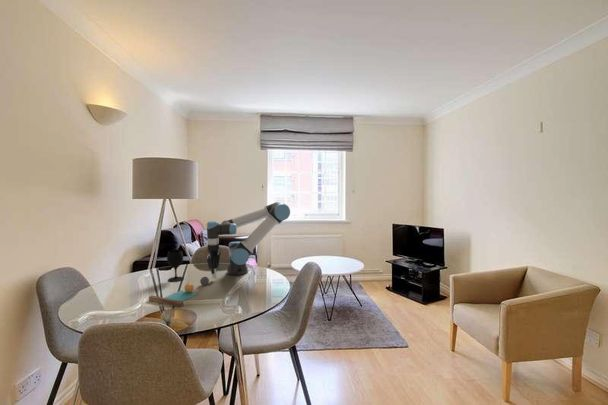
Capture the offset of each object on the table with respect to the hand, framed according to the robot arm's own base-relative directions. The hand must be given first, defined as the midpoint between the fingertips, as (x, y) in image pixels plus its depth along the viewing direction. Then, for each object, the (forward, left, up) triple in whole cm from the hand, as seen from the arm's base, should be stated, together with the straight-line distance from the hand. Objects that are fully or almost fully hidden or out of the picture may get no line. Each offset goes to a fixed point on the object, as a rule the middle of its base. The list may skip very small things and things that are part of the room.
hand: (214, 277), depth 214 cm
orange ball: (+23, 0, +1) cm, 24 cm away
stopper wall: (+41, 0, -2) cm, 42 cm away
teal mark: (+30, 0, -2) cm, 31 cm away
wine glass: (+8, -26, -2) cm, 27 cm away
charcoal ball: (+9, 0, +1) cm, 10 cm away
